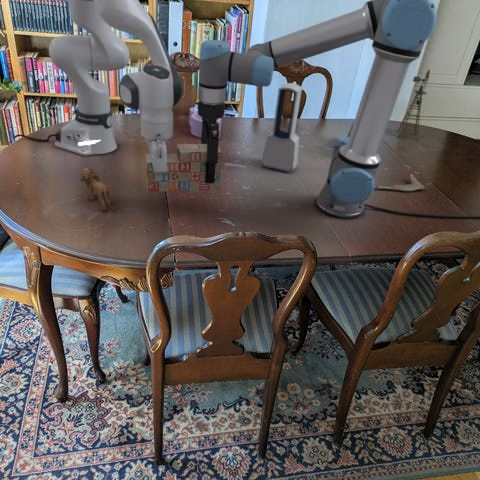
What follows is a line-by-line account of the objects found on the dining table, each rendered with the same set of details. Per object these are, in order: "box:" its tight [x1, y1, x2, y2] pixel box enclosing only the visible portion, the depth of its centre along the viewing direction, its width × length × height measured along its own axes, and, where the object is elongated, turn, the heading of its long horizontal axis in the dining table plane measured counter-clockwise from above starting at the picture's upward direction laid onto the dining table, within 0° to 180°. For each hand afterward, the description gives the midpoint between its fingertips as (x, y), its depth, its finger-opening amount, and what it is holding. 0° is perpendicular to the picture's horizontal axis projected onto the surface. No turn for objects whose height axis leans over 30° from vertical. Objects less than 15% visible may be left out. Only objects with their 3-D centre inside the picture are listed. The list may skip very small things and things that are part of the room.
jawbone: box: [376, 173, 426, 193], centre depth 169 cm, size 9×20×2 cm, turn 126°
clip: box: [188, 107, 222, 139], centre depth 199 cm, size 20×12×7 cm, turn 23°
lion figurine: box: [77, 167, 116, 211], centre depth 139 cm, size 15×5×9 cm, turn 50°
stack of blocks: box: [145, 143, 223, 192], centre depth 137 cm, size 21×6×12 cm, turn 104°
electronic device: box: [260, 82, 303, 173], centre depth 167 cm, size 12×8×30 cm, turn 71°
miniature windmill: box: [397, 69, 431, 140], centre depth 212 cm, size 9×8×30 cm
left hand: (157, 174), depth 136 cm, fingers closed on stack of blocks, 6 cm apart
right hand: (207, 177), depth 141 cm, fingers closed on stack of blocks, 6 cm apart
